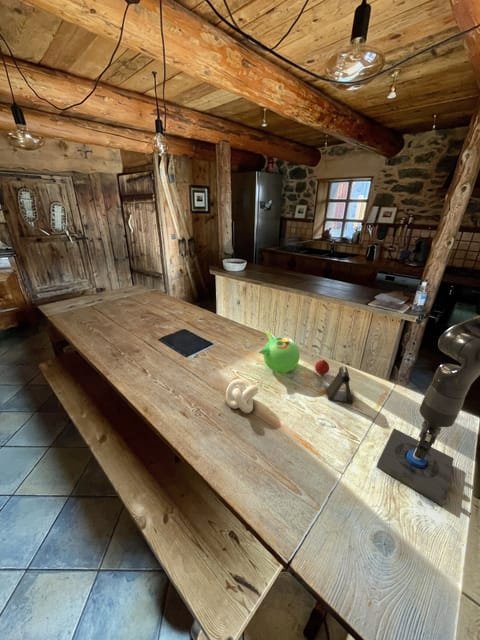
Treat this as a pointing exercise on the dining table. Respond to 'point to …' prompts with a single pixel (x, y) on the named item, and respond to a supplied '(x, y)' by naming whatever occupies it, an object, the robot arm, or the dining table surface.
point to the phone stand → (335, 386)
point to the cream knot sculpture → (240, 395)
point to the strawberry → (322, 367)
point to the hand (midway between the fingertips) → (422, 447)
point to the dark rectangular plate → (422, 480)
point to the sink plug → (415, 460)
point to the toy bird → (280, 353)
